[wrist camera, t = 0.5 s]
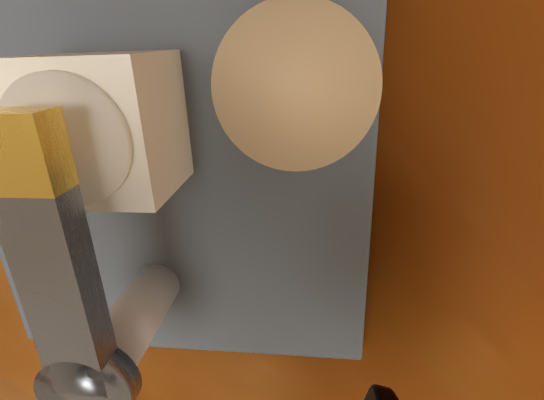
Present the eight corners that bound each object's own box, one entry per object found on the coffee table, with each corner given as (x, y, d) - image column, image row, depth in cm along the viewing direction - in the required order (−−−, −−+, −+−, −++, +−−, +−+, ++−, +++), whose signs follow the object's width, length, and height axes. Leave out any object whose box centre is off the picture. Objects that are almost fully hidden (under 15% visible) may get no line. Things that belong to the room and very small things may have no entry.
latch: (148, 409, 16) (135, 438, 15) (66, 402, 16) (47, 430, 15) (82, 105, 11) (56, 112, 10) (-30, 107, 12) (-68, 115, 11)
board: (-68, -10, 18) (-292, -36, 11) (385, -36, 15) (431, -88, 9) (41, 325, 25) (-58, 426, 19) (359, 344, 23) (374, 468, 16)
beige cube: (59, 53, 17) (-38, 59, 12) (179, 49, 16) (123, 54, 12) (86, 171, 19) (11, 214, 14) (193, 172, 18) (151, 217, 14)
